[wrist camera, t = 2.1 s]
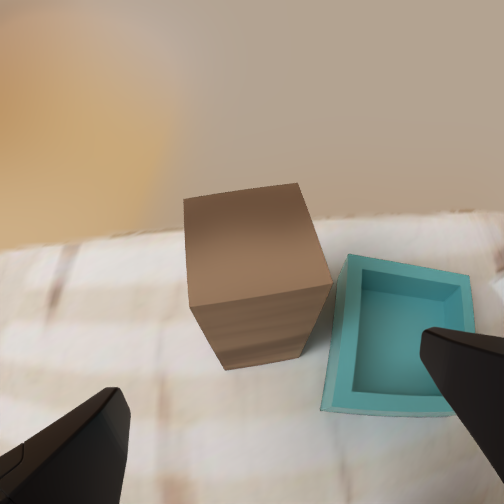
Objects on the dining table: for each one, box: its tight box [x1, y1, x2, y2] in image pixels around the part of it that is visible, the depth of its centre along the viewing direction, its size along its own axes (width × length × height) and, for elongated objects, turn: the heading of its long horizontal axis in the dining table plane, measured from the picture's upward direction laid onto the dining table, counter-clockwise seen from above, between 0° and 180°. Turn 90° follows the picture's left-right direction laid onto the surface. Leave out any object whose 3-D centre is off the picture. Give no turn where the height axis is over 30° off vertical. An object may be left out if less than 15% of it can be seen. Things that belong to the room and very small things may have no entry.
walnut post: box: [184, 183, 333, 370], centre depth 16 cm, size 5×5×11 cm
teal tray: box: [320, 254, 475, 417], centre depth 18 cm, size 10×10×4 cm
